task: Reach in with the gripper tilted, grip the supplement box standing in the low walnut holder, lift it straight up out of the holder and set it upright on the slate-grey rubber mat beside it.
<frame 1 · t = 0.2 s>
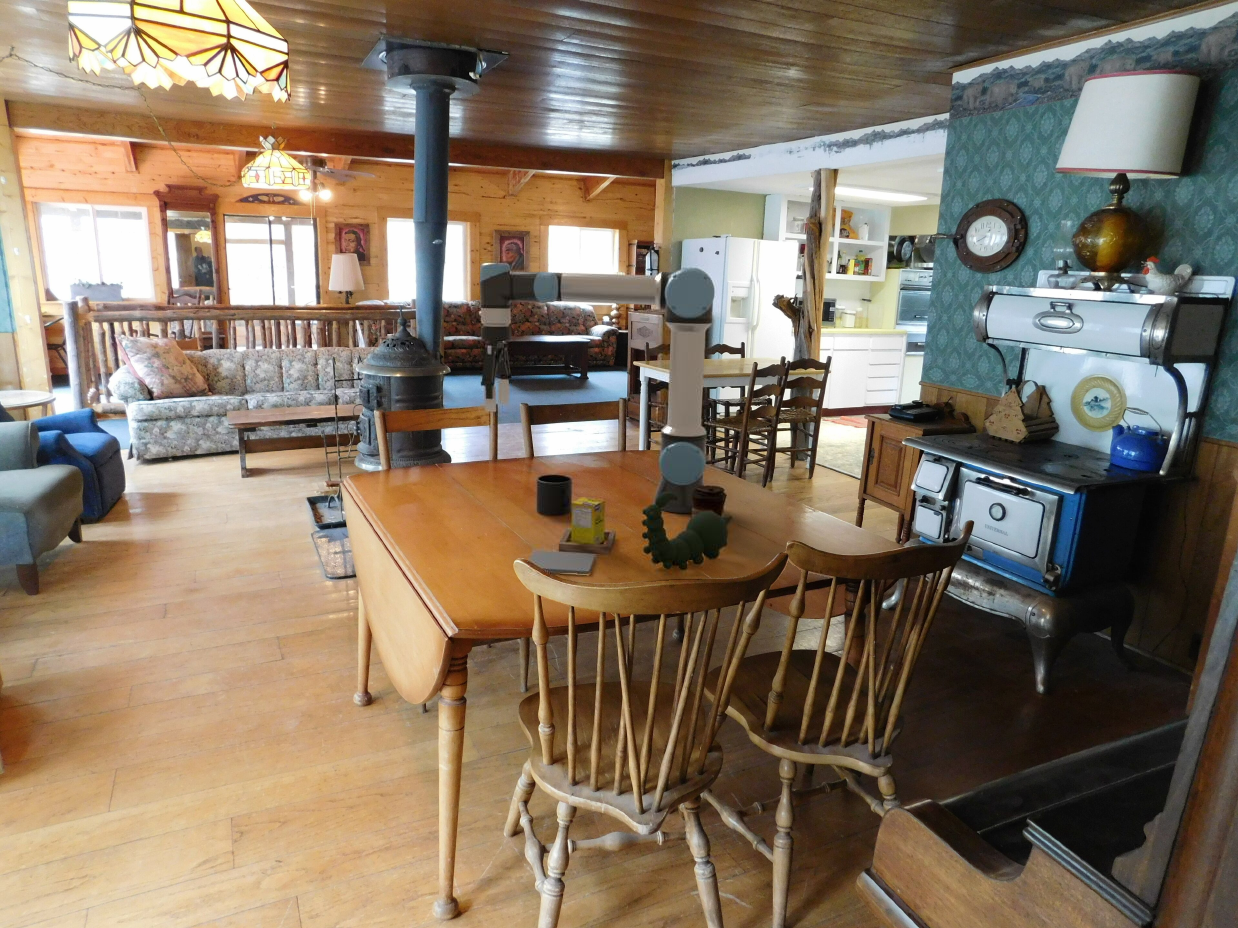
hand: (497, 407, 207), 28 cm above the table, tool pointing down, fingers open, 13 cm apart
mug: (556, 512, 213), on the table
mat: (560, 564, 174), on the table
toy figurine: (688, 564, 178), on the table
holder: (587, 545, 188), on the table
coffee cup: (706, 539, 195), on the table
supplement box: (587, 546, 188), resting in holder
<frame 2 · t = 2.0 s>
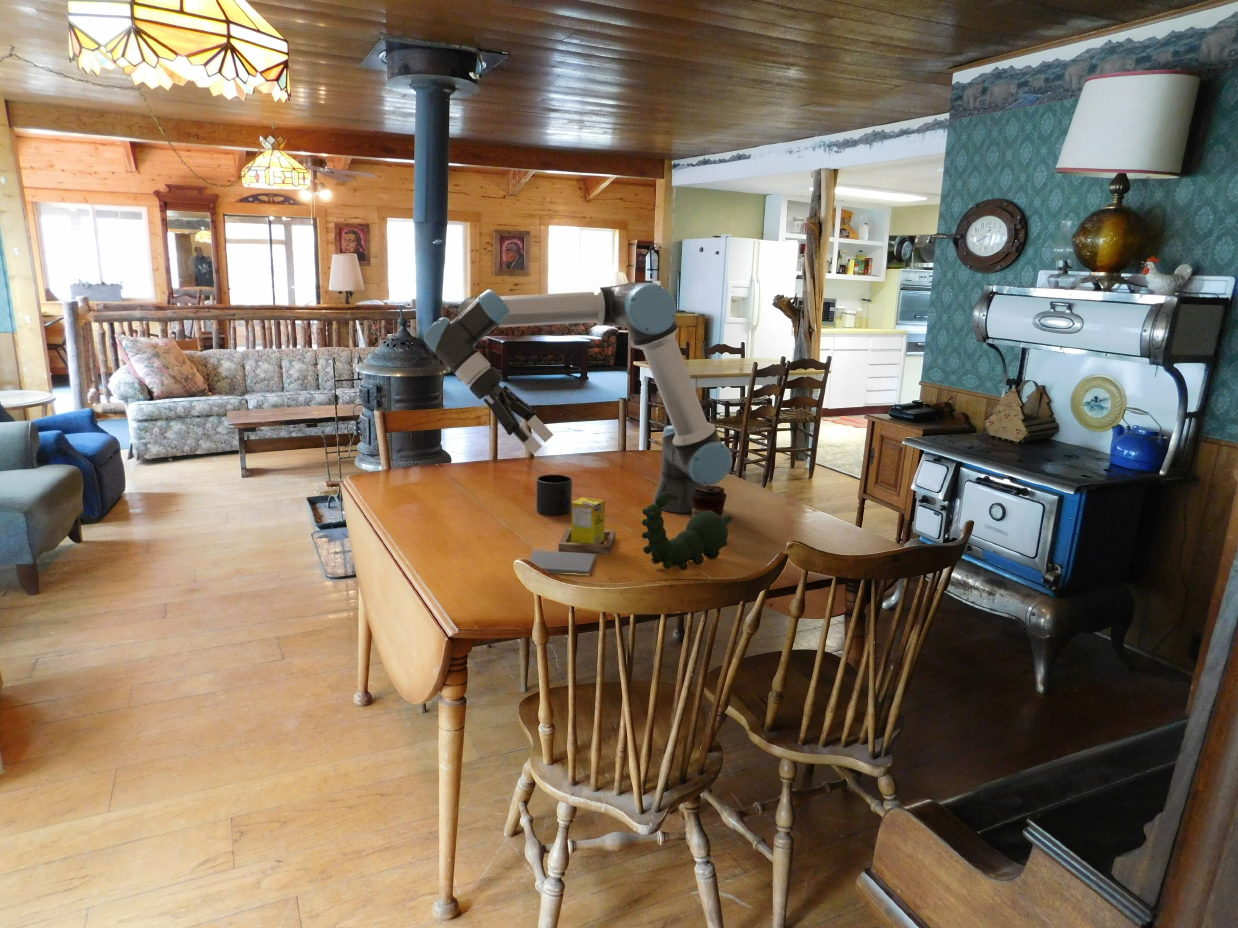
hand: (543, 444, 183), 24 cm above the table, tool tilted 45°, fingers open, 13 cm apart
nothing on the table moved.
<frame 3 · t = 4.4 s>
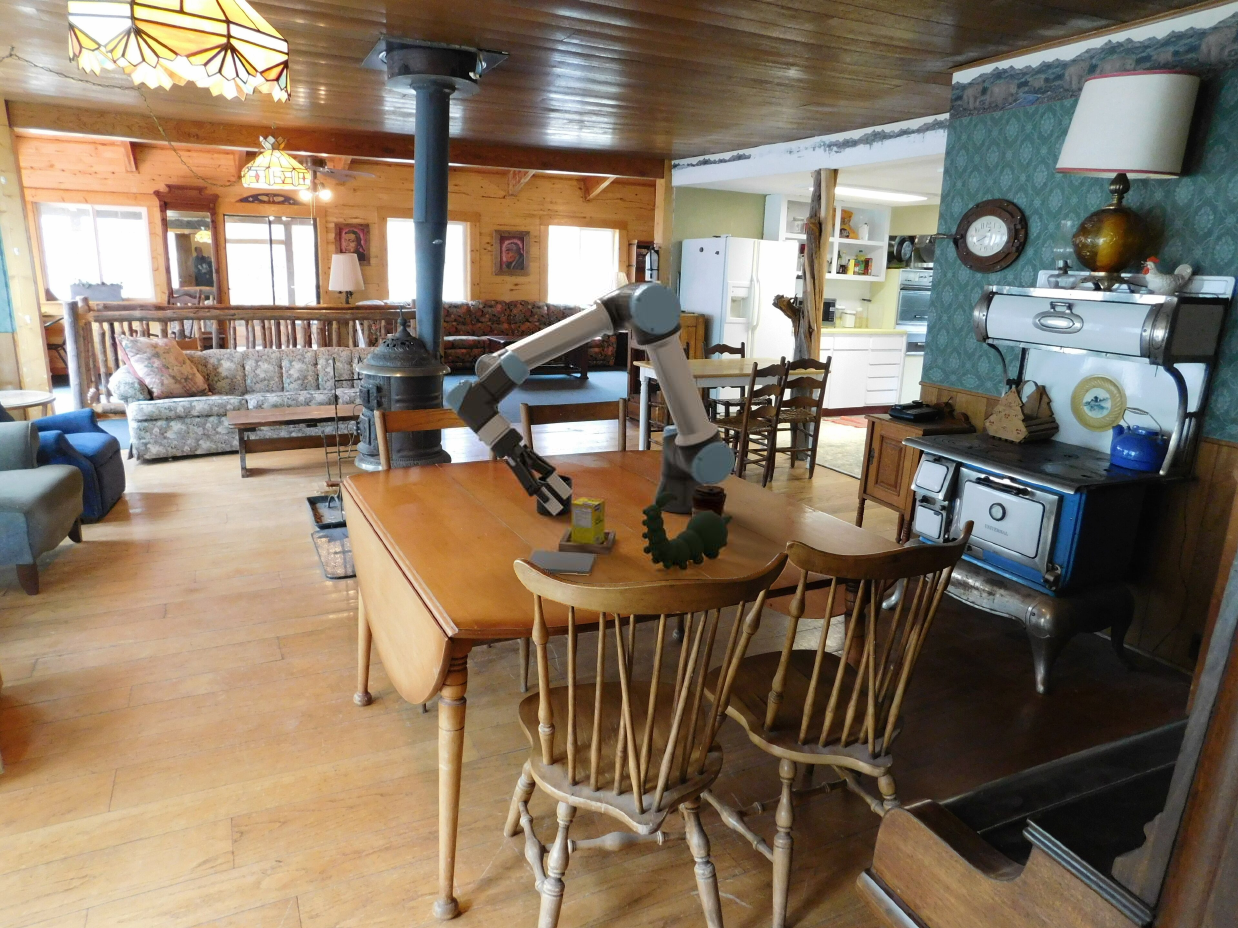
hand: (564, 503, 185), 10 cm above the table, tool tilted 45°, fingers open, 13 cm apart
nothing on the table moved.
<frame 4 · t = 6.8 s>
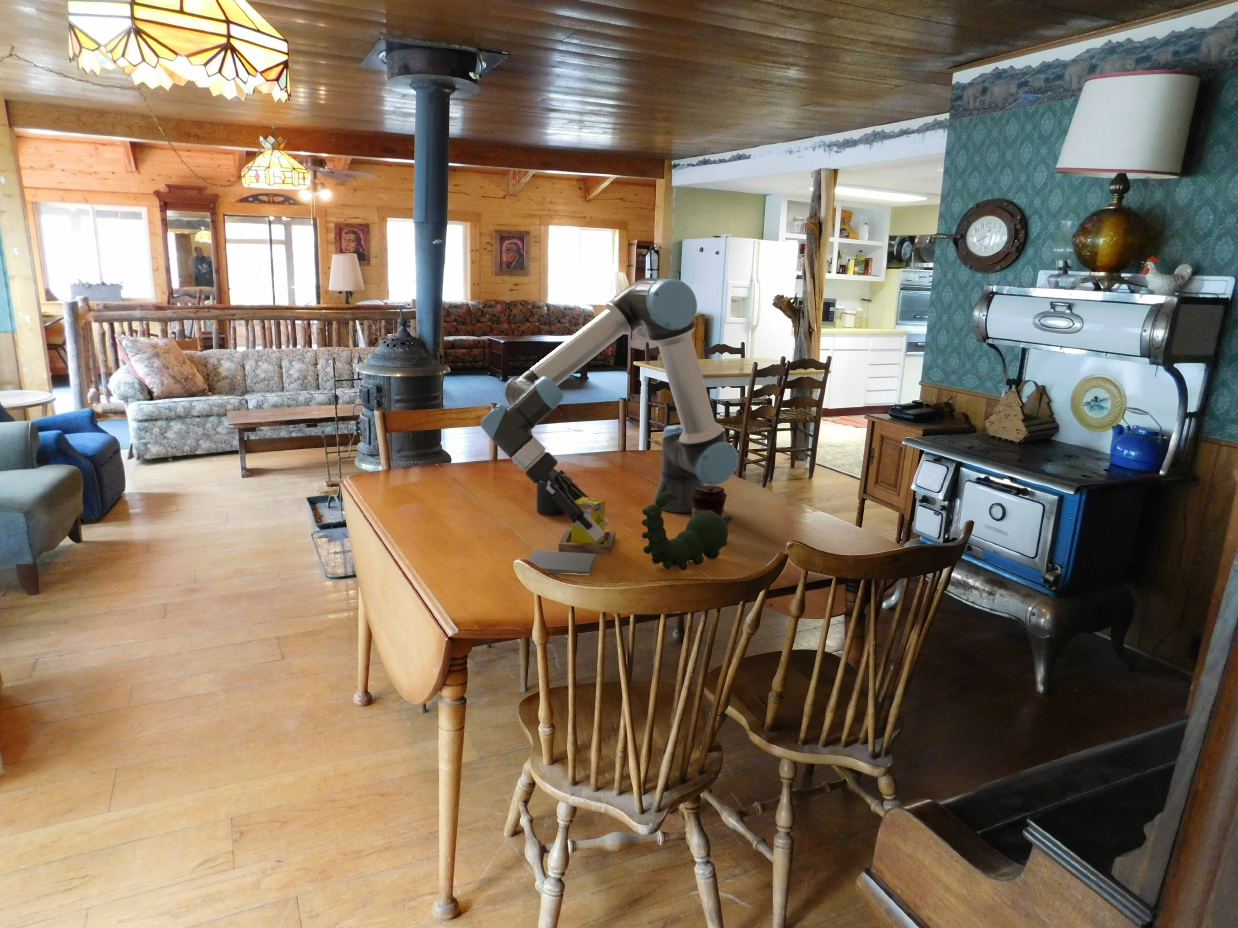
hand: (602, 531, 186), 4 cm above the table, tool tilted 45°, fingers closed on supplement box, 7 cm apart
supplement box: (587, 545, 188), resting in holder, touching gripper
everything else where it was.
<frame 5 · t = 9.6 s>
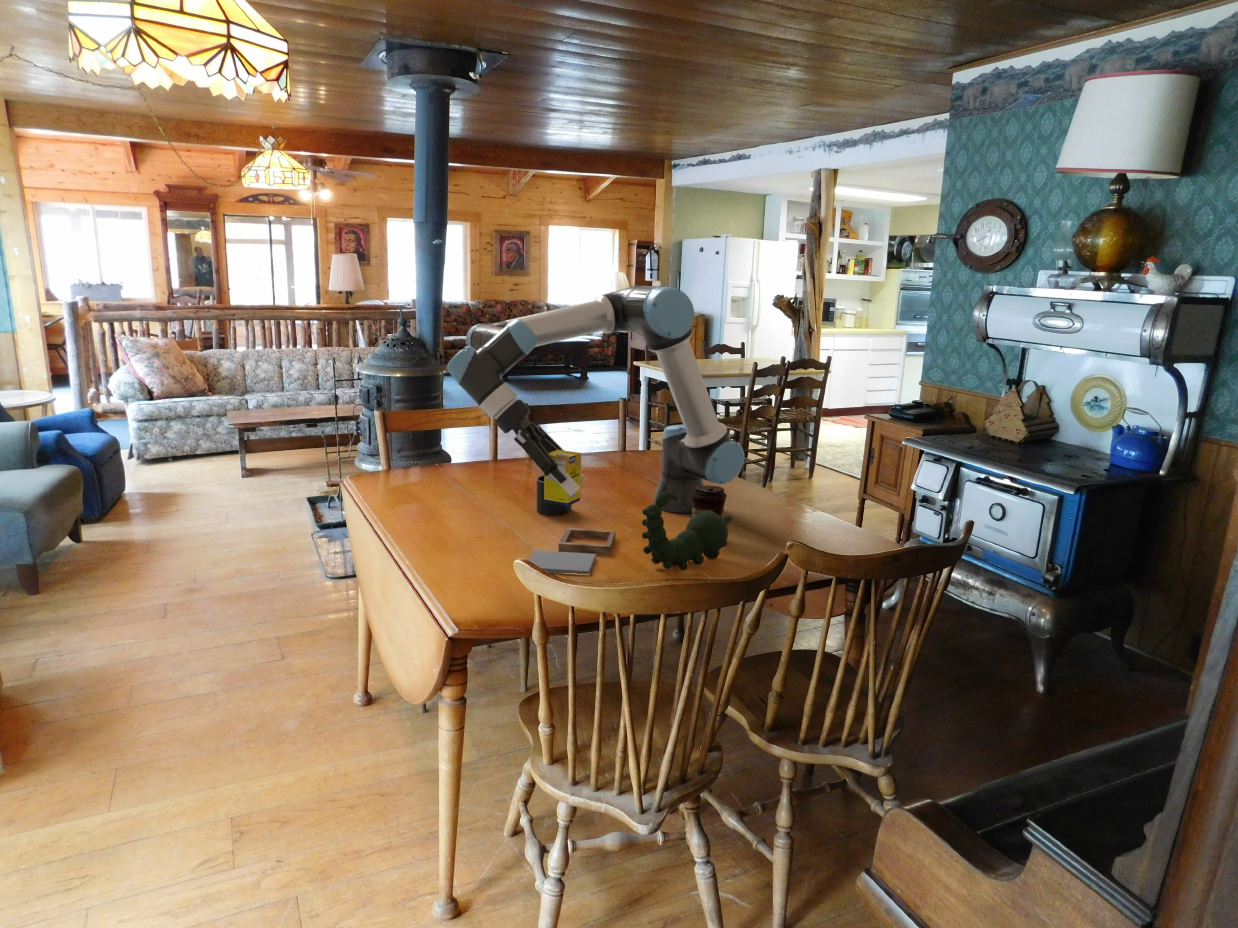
hand: (578, 487, 172), 17 cm above the table, tool tilted 45°, fingers closed on supplement box, 7 cm apart
supplement box: (562, 502, 173), point 14 cm above the table, touching gripper
everything else where it was.
when the fingers open (5 cm above the table, at t = 12.4 s): supplement box stays where it is, resting on mat.
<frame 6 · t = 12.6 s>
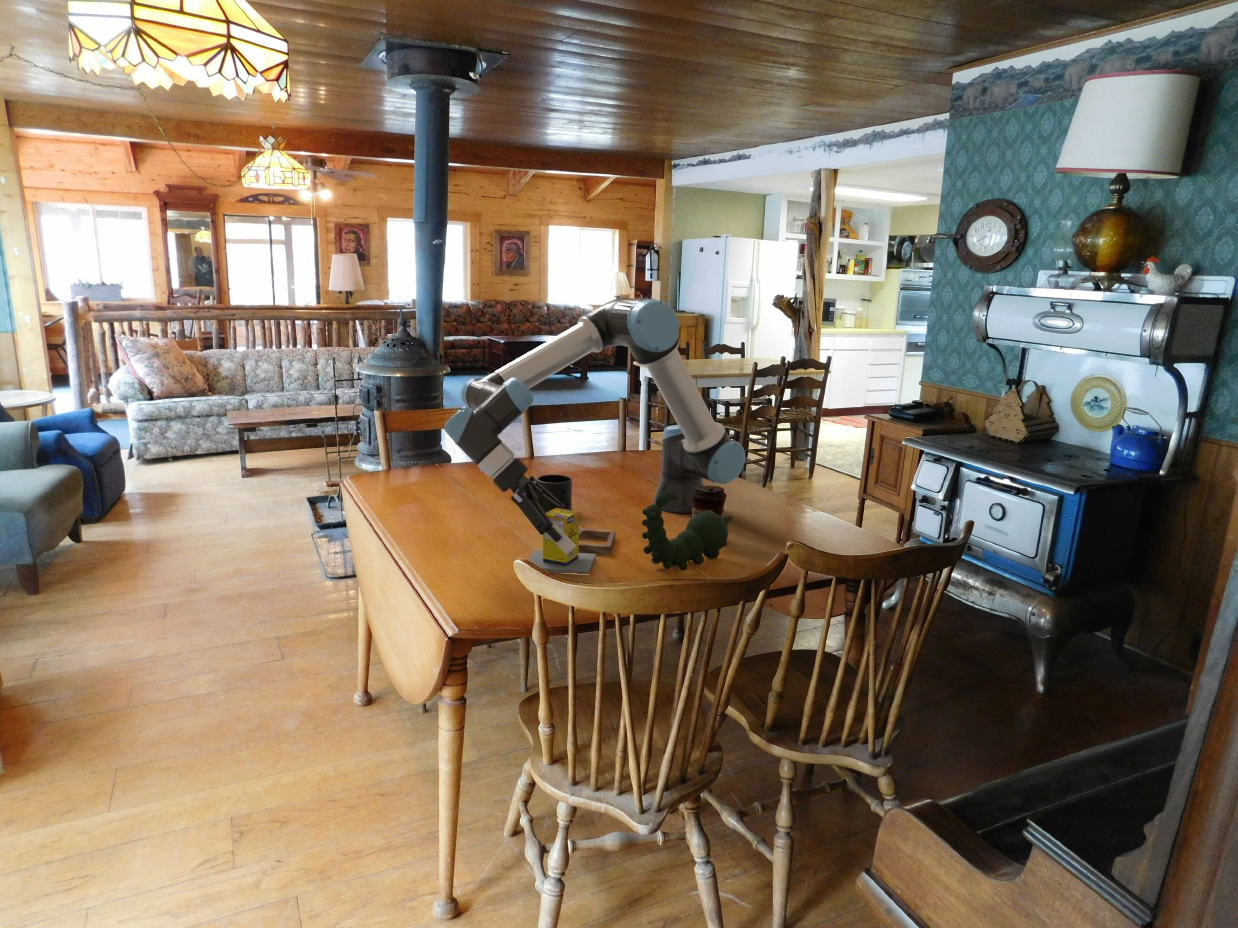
hand: (574, 541, 173), 5 cm above the table, tool tilted 45°, fingers open, 10 cm apart
supplement box: (560, 560, 174), point 1 cm above the table, touching mat
everything else where it was.
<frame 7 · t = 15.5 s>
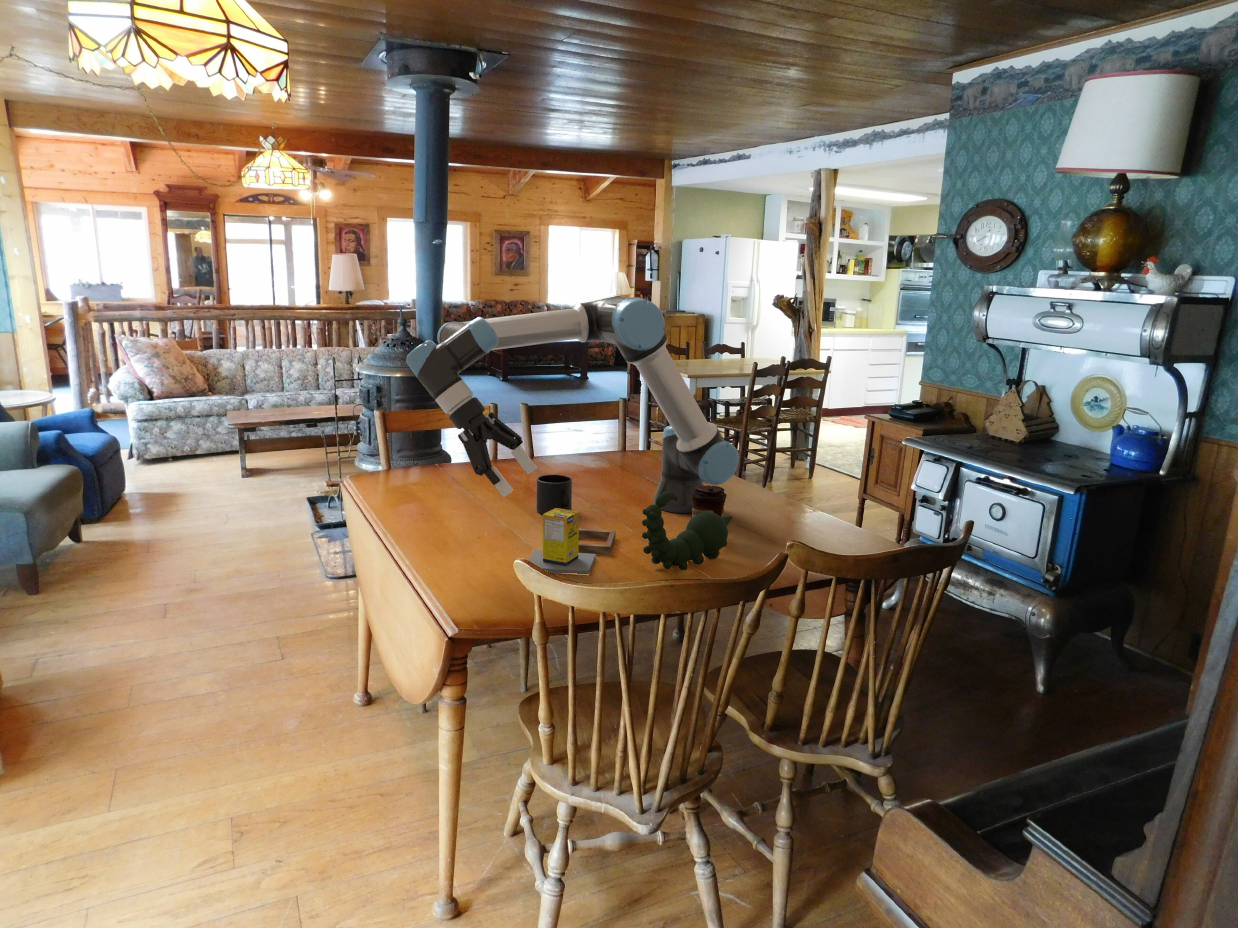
hand: (521, 482, 175), 17 cm above the table, tool tilted 40°, fingers open, 13 cm apart
nothing on the table moved.
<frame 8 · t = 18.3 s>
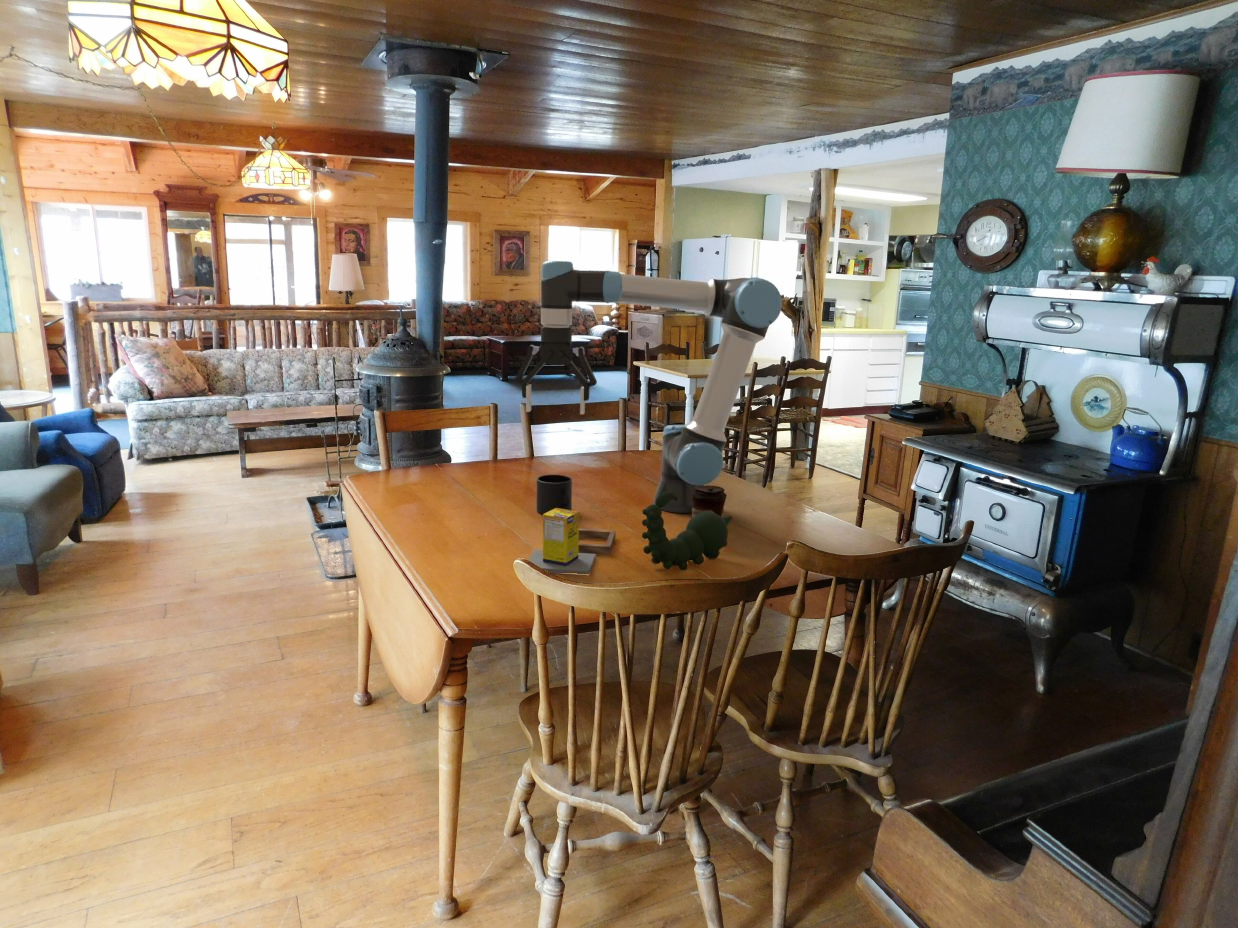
hand: (555, 412, 198), 29 cm above the table, tool pointing down, fingers open, 13 cm apart
nothing on the table moved.
at the end: supplement box inside the target area on the mat (0.1 cm from its centre), point 0.8 cm above the mat's base; supplement box tilted 0°; the gripper is holding nothing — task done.
